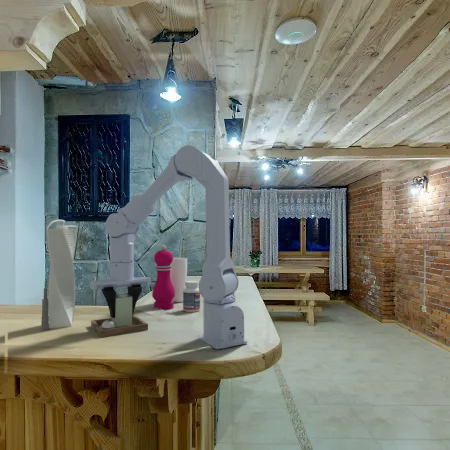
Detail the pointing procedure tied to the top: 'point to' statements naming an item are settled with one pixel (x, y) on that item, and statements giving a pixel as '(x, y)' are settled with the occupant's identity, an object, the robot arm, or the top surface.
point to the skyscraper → (60, 278)
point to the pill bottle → (191, 297)
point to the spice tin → (123, 310)
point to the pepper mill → (163, 280)
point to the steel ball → (108, 325)
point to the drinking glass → (178, 277)
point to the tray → (135, 327)
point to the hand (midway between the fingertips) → (122, 316)
